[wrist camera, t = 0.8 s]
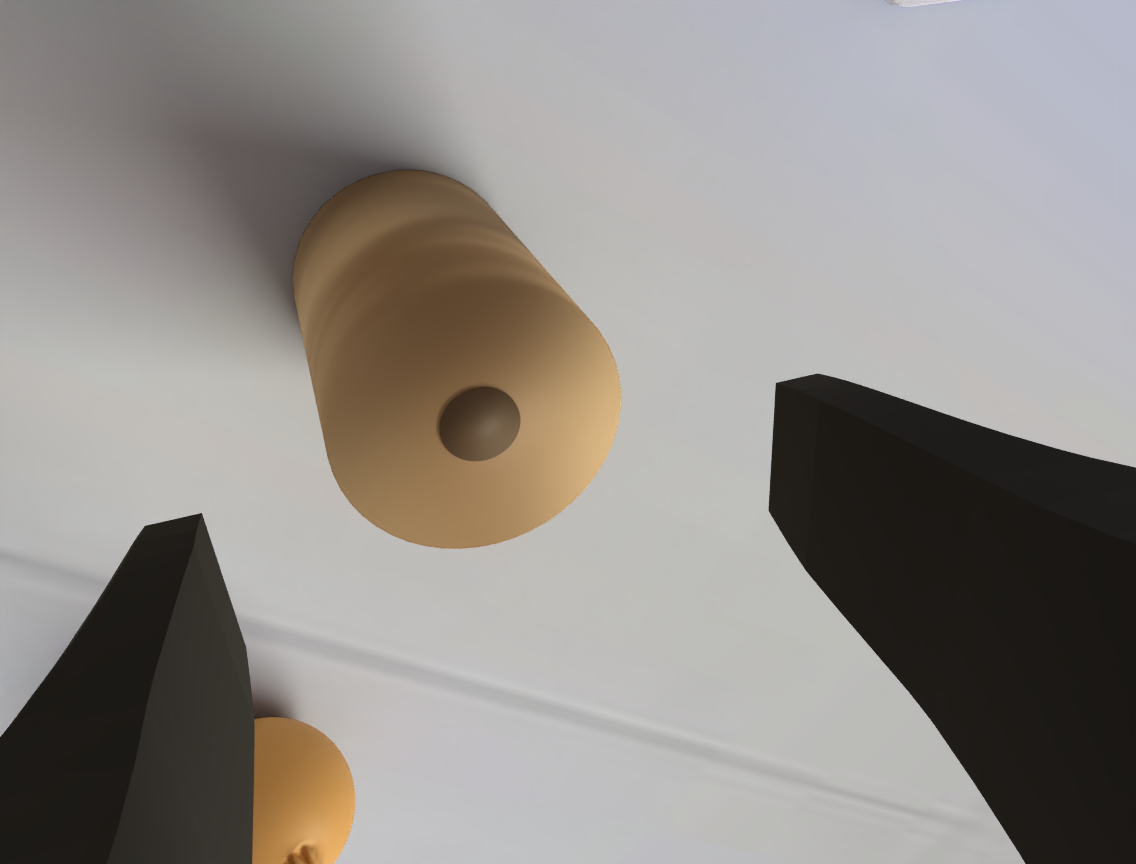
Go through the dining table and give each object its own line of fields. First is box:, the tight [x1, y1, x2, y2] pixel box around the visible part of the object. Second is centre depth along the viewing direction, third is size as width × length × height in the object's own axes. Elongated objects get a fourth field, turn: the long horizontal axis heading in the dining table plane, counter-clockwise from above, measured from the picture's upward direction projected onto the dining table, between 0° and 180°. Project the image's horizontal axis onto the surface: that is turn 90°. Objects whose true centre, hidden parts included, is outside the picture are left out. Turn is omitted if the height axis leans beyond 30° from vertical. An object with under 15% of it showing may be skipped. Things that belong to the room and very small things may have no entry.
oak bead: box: [293, 170, 621, 549], centre depth 16 cm, size 4×4×6 cm
